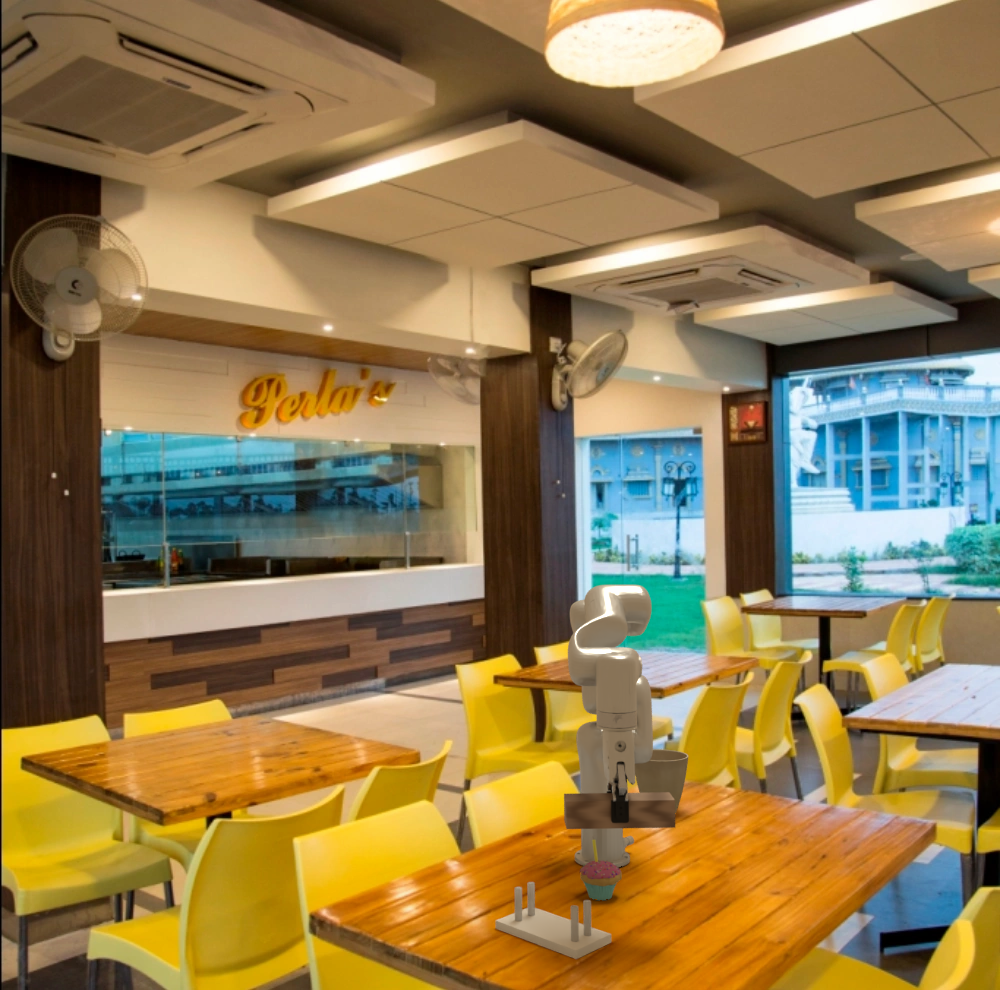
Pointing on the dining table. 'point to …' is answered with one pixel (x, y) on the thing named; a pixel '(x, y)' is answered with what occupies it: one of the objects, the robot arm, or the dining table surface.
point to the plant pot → (663, 773)
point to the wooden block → (597, 811)
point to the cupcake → (600, 877)
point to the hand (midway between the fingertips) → (617, 816)
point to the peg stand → (553, 927)
